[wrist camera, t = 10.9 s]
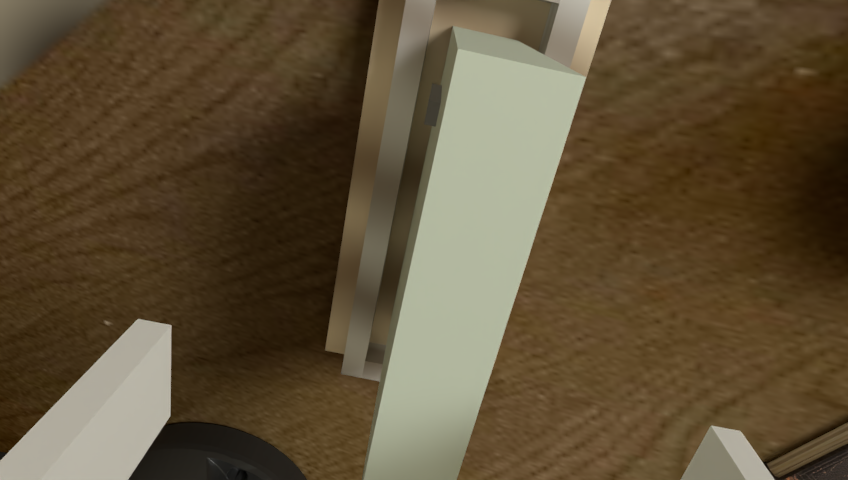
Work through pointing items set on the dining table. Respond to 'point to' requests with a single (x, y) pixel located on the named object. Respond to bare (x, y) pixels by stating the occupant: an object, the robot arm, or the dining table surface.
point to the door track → (420, 143)
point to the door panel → (466, 246)
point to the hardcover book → (815, 459)
